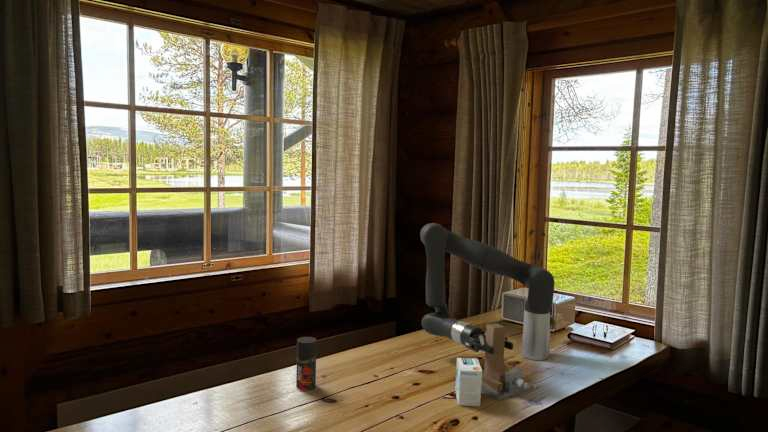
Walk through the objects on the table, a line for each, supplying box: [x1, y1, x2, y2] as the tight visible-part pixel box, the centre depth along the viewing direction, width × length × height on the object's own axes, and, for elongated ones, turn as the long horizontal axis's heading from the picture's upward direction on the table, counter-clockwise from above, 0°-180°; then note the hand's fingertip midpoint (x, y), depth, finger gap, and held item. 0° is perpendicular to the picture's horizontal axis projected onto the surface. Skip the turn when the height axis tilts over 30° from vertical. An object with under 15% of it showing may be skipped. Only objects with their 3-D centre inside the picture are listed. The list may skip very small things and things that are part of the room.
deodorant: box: [295, 336, 318, 392], centre depth 170 cm, size 6×6×15 cm
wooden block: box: [483, 323, 509, 388], centre depth 176 cm, size 9×4×18 cm, turn 22°
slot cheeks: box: [481, 369, 525, 393], centre depth 176 cm, size 12×11×2 cm
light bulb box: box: [454, 357, 483, 407], centre depth 166 cm, size 11×7×11 cm, turn 178°
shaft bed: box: [481, 368, 535, 401], centre depth 175 cm, size 16×16×7 cm
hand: (503, 348), depth 174 cm, fingers open, 8 cm apart
